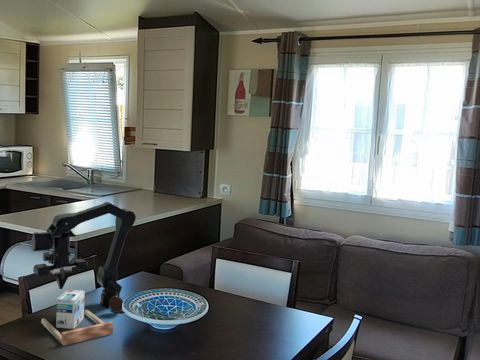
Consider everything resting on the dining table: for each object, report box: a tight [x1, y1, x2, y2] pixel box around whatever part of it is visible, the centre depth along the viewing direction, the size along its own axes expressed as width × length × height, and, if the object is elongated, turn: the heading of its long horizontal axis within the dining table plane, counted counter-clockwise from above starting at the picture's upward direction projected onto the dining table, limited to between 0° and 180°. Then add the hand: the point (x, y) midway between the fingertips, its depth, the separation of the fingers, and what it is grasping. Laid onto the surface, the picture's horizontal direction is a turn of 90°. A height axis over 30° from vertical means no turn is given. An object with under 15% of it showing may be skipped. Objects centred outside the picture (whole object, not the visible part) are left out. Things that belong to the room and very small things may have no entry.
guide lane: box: [40, 309, 114, 346], centre depth 173 cm, size 17×22×4 cm
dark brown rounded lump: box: [108, 296, 124, 314], centre depth 191 cm, size 8×8×7 cm
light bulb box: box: [55, 289, 86, 330], centre depth 177 cm, size 11×7×11 cm, turn 179°
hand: (60, 288), depth 184 cm, fingers closed
